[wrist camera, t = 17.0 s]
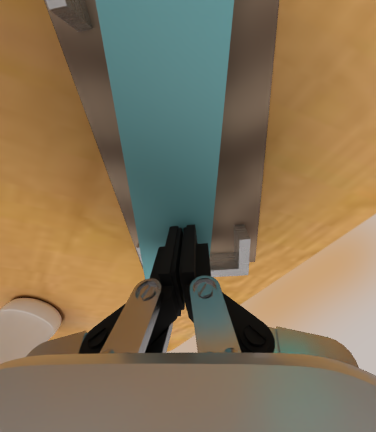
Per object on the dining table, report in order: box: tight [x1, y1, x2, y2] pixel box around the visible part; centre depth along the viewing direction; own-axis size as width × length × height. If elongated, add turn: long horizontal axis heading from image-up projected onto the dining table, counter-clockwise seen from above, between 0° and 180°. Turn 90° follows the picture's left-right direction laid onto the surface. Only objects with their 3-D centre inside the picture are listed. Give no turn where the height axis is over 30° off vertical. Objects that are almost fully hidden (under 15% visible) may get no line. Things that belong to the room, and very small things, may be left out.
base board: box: [44, 0, 279, 267], centre depth 15 cm, size 27×14×2 cm, turn 7°
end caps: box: [46, 0, 251, 277], centre depth 13 cm, size 26×11×2 cm, turn 7°
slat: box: [95, 0, 234, 279], centre depth 11 cm, size 20×5×6 cm, turn 0°
